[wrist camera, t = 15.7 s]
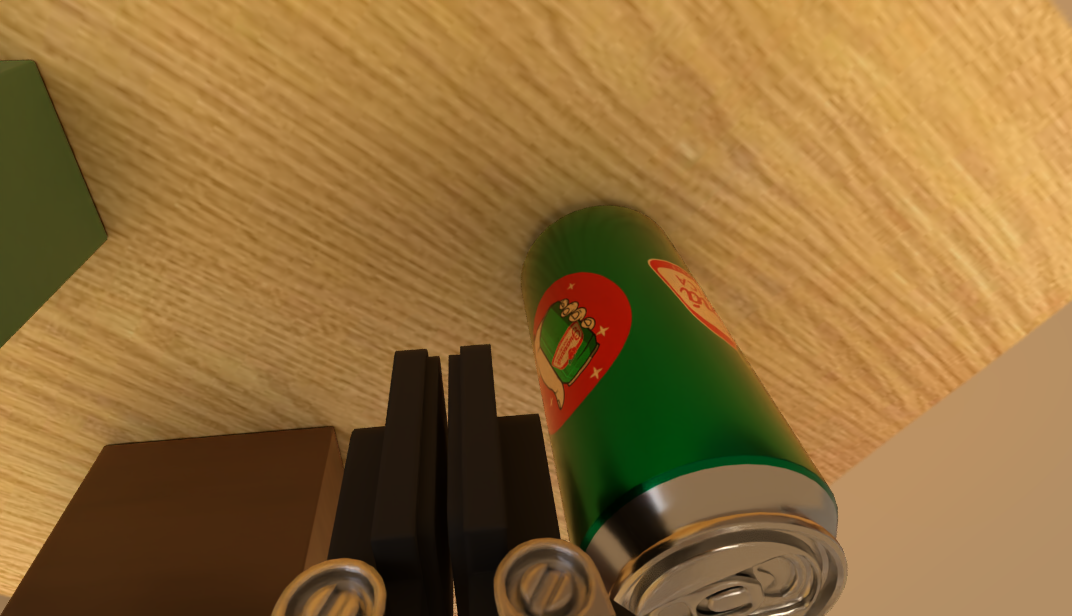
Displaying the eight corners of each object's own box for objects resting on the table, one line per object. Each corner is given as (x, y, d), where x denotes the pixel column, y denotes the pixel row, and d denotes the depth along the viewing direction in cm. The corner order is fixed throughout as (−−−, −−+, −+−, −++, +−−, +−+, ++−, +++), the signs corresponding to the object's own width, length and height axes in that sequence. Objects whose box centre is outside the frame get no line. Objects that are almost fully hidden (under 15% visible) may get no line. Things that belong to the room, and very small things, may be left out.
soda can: (684, 299, 22) (879, 631, 12) (549, 350, 23) (631, 708, 13) (647, 172, 20) (859, 467, 10) (494, 233, 20) (544, 574, 10)
